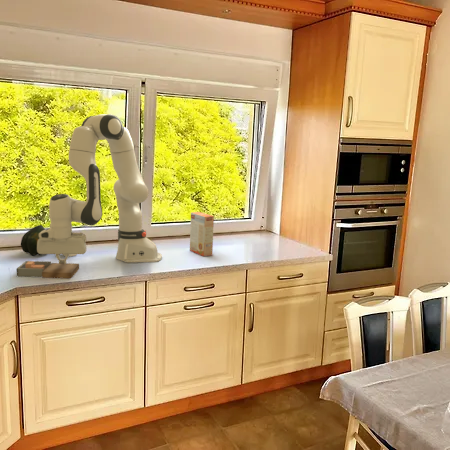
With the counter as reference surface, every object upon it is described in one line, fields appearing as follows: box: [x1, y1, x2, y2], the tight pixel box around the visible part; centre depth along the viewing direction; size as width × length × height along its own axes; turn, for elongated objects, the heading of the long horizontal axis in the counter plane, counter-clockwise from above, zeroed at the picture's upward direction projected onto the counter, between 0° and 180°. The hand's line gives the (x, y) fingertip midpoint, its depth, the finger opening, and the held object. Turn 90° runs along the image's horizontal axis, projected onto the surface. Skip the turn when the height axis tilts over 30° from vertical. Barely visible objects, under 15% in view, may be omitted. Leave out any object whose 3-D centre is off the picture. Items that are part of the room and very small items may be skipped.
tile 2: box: [32, 265, 45, 271], centre depth 208 cm, size 4×4×2 cm
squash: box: [20, 224, 47, 257], centre depth 237 cm, size 14×15×15 cm
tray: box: [16, 260, 52, 278], centre depth 208 cm, size 11×12×4 cm
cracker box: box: [189, 211, 215, 257], centre depth 250 cm, size 14×6×21 cm, turn 34°
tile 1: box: [25, 260, 35, 268], centre depth 207 cm, size 4×4×2 cm
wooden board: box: [41, 262, 80, 279], centre depth 209 cm, size 12×14×2 cm
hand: (62, 263), depth 208 cm, fingers closed
